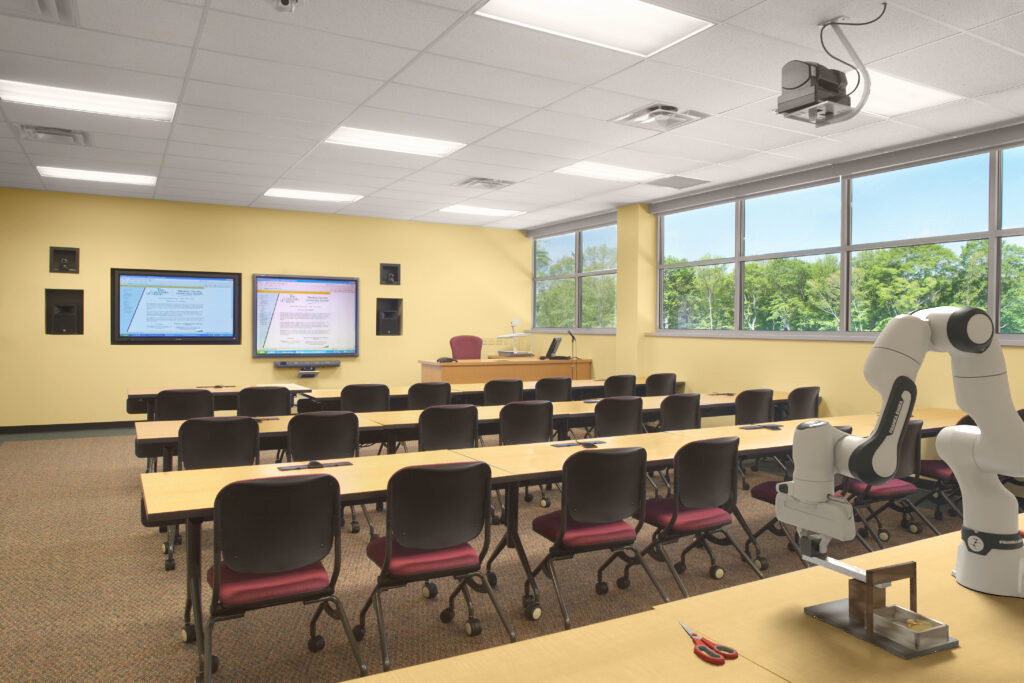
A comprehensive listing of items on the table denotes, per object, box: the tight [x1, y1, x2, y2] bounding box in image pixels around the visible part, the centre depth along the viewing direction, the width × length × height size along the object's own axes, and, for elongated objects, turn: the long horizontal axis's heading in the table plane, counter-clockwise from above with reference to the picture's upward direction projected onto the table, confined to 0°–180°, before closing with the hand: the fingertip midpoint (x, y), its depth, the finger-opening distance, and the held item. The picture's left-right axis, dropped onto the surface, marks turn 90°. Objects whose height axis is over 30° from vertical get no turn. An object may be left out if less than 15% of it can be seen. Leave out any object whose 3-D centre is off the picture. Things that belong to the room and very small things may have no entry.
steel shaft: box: [800, 533, 892, 588], centre depth 146 cm, size 20×5×6 cm, turn 23°
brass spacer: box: [907, 619, 933, 632], centre depth 130 cm, size 4×4×3 cm
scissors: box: [678, 620, 739, 665], centre depth 134 cm, size 8×21×2 cm, turn 22°
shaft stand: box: [803, 560, 960, 661], centre depth 139 cm, size 24×15×14 cm, turn 23°
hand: (813, 549), depth 154 cm, fingers closed on steel shaft, 3 cm apart
